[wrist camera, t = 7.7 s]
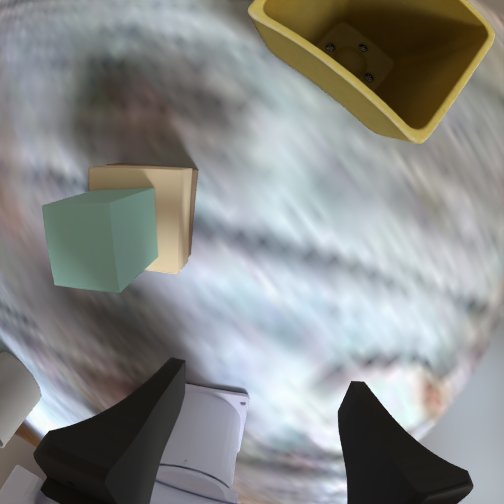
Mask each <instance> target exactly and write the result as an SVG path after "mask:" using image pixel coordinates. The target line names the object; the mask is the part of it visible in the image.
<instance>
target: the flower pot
mask: <svg viewBox="0 0 504 504" xmlns="http://www.w3.org/2000/svg"><path fill="white" fill-rule="evenodd" d="M248 14H249V15H250V17H251V19H252V20H253V22H254V24H255V26H256V28H257V30H258V32H259V33H260V35H261V37H262V39H263V41H264V42H265V44H266V46H267V47H268V49H269V50H270V51H271V52H272V53H273V54H274V55H275V56H276V57H277V58H279V59H280V60H282V61H283V62H284V63H286V64H288V65H289V66H291V67H292V68H294V69H295V70H296V71H298V72H299V73H301V74H302V75H304V76H305V77H306V78H308V79H309V80H310V81H312V82H313V83H314V84H316V85H317V86H318V87H320V88H321V89H322V90H324V91H325V92H326V93H327V94H329V95H330V96H331V97H332V98H334V99H335V100H336V101H337V102H338V103H340V104H341V105H342V106H343V107H344V108H346V109H347V110H348V111H349V112H350V113H351V114H352V115H354V116H355V117H356V118H357V119H358V120H359V121H360V122H361V123H362V124H363V125H365V126H366V127H367V128H368V129H370V130H371V131H373V132H374V133H376V134H379V135H382V136H386V137H390V138H394V139H399V140H403V141H407V142H412V143H416V144H421V143H423V142H424V141H425V140H427V138H428V137H429V136H430V135H431V134H432V132H433V131H434V129H435V128H436V127H437V125H438V124H439V123H440V121H441V120H442V119H443V117H444V115H445V114H446V112H447V111H448V109H449V107H450V106H451V105H452V104H453V102H454V101H455V99H456V98H457V96H458V95H459V93H460V92H461V90H462V89H463V87H464V86H465V84H466V83H467V81H468V80H469V78H470V77H471V75H472V74H473V72H474V71H475V69H476V68H477V66H478V65H479V63H480V62H481V61H482V59H483V57H484V56H485V55H486V53H487V52H488V50H489V48H490V47H491V45H492V43H493V41H494V37H495V32H494V30H493V29H492V27H491V26H490V25H489V23H488V22H487V21H486V20H485V19H484V18H483V17H482V16H481V15H480V14H479V13H478V12H477V11H476V10H475V9H474V8H473V7H472V6H471V5H470V4H469V3H468V2H467V1H466V0H254V1H253V2H252V3H251V4H250V6H249V7H248ZM327 45H333V46H334V47H335V50H334V51H332V52H331V51H328V50H327V48H326V46H327ZM360 45H364V46H365V47H366V49H367V50H366V51H365V52H362V51H361V50H360V49H359V46H360ZM366 74H370V75H371V76H372V81H371V82H368V81H366V79H365V75H366Z"/></svg>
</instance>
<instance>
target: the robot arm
mask: <svg viewBox="0 0 504 504" xmlns="http://www.w3.org/2000/svg"><path fill="white" fill-rule="evenodd" d="M249 399H250V397H249V395H247V394H244V393H237V392H230V391H224V390H218V389H212V388H207V387H201V386H196V385H191V384H186V383H185V360H180V359H176V358H170V359H169V360H168V361H167V362H166V363H165V364H164V365H163V366H162V367H161V368H160V369H159V370H158V371H157V372H156V373H155V374H154V375H153V376H152V377H151V378H150V379H148V380H147V381H146V382H145V383H144V384H143V385H142V386H140V387H139V388H138V389H137V390H135V391H134V392H133V393H131V394H130V395H129V396H127V397H126V398H125V399H123V400H122V401H120V402H119V403H117V404H116V405H114V406H112V407H111V408H109V409H107V410H105V411H103V412H101V413H100V414H98V415H96V416H93V417H91V418H89V419H86V420H84V421H81V422H79V423H76V424H73V425H70V426H67V427H63V428H59V429H55V430H51V431H49V432H48V433H47V434H46V435H45V436H44V438H43V439H42V441H41V442H40V444H39V445H38V447H37V448H36V450H35V452H34V459H35V460H36V462H37V464H38V465H39V466H40V468H41V469H42V470H43V472H44V473H45V474H46V476H47V479H46V480H45V482H44V481H43V480H41V479H40V478H39V477H37V476H36V475H34V474H32V473H31V472H29V471H27V470H26V469H24V468H22V467H21V466H19V465H16V467H15V468H14V470H13V471H12V473H11V474H10V476H9V478H8V479H7V481H6V482H5V484H4V486H3V487H2V489H1V491H0V504H242V503H238V502H237V501H238V493H239V492H238V491H234V490H232V484H233V477H234V470H235V462H236V455H237V452H239V451H240V446H241V441H242V436H243V430H244V425H245V420H246V415H247V410H248V405H249ZM243 402H245V403H243ZM338 427H339V435H340V441H341V446H342V451H343V457H344V462H345V468H346V475H347V504H457V503H459V502H460V501H461V500H462V499H463V498H465V497H466V496H467V495H468V494H469V493H470V492H471V490H472V489H473V483H472V480H471V478H470V475H469V473H468V471H467V470H464V469H462V468H460V467H458V466H455V465H453V464H451V463H449V462H447V461H446V460H444V459H442V458H440V457H438V456H437V455H435V454H434V453H432V452H431V451H430V450H428V449H427V448H425V447H424V446H422V445H421V444H420V443H419V442H418V441H416V440H415V439H414V438H413V437H412V436H411V435H410V434H408V433H407V432H406V431H405V430H404V429H403V428H402V427H401V426H400V425H399V423H398V422H397V421H396V420H395V419H394V418H393V417H392V416H391V415H390V414H389V412H388V411H387V410H386V409H385V408H384V406H383V405H382V404H381V403H380V401H379V400H378V399H377V397H376V396H375V395H374V394H373V392H372V391H371V390H370V389H369V387H368V386H367V385H366V383H365V382H360V381H351V383H350V385H349V388H348V390H347V392H346V395H345V397H344V399H343V401H342V403H341V406H340V408H339V410H338Z"/></svg>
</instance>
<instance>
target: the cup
mask: <svg viewBox="0 0 504 504" xmlns="http://www.w3.org/2000/svg"><path fill="white" fill-rule="evenodd" d="M41 396H42V395H41V391H40V387H39V385H38V383H37V382H36V380H35V378H34V376H33V375H32V374H31V372H30V371H29V370H28V369H27V368H26V366H25V365H24V364H23V363H22V362H21V361H19V360H18V359H17V358H16V357H15V356H14V355H12V354H10V353H8V352H5V351H2V352H0V447H2V448H4V446H5V445H6V443H7V442H8V441H9V439H10V438H11V437H12V435H13V434H14V433H15V431H16V430H17V429H18V427H19V426H20V425H21V423H22V422H23V421H24V419H25V418H26V417H27V416H28V414H29V413H30V412H31V410H32V409H33V408H34V407H35V405H36V404H37V403H38V402H39V400H40V398H41Z"/></svg>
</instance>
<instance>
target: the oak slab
mask: <svg viewBox="0 0 504 504" xmlns="http://www.w3.org/2000/svg"><path fill="white" fill-rule="evenodd" d="M191 180H192V168H180V167H158V166H109V165H107V166H100V167H92V168H89V192H90V191H94V190H108V189H131V188H155V211H156V229H157V244H158V258H157V259H155V260H154V261H153V262H152V263H151V264H150V265H149V266H148V267H147V268H146V269H145V270H149V271H156V272H163V273H171V274H179V272H180V271H181V270H182V268H183V267H184V266H185V264H186V263H187V262H188V241H189V216H190V197H191Z"/></svg>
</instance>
